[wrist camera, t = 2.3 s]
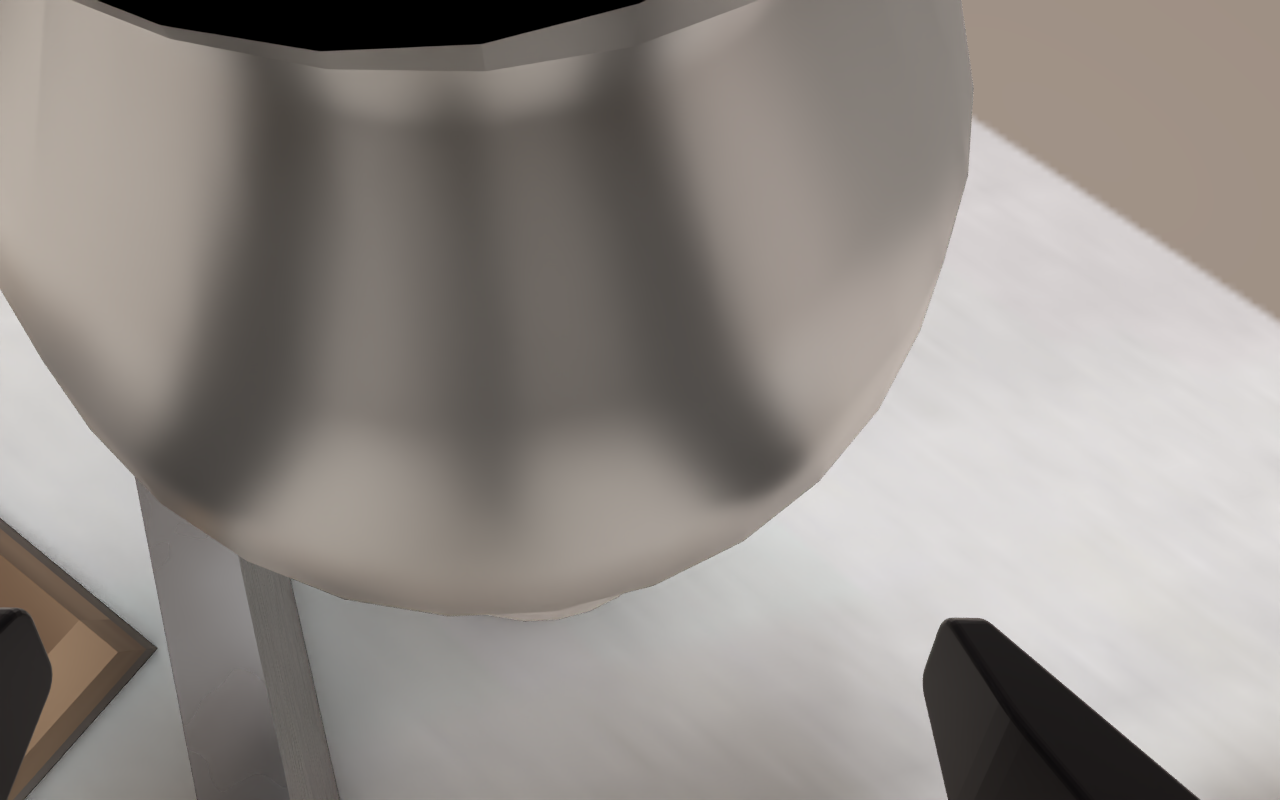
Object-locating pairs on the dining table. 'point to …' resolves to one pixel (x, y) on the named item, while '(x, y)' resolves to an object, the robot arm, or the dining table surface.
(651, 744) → the dining table surface
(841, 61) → the plastic bottle
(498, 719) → the dining table surface
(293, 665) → the bar
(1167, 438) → the dining table surface
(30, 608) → the wooden tray
